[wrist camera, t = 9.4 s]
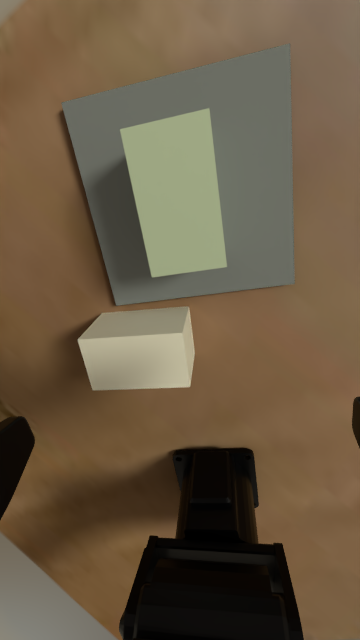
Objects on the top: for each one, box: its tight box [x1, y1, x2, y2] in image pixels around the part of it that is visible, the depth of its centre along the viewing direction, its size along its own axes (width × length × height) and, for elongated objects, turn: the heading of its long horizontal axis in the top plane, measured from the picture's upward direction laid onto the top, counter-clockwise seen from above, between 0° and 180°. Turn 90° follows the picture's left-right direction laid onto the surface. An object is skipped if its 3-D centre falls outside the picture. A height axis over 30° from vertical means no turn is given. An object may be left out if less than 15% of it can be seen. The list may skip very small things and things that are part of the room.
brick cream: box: [78, 306, 195, 390], centre depth 19 cm, size 6×4×4 cm, turn 97°
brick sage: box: [120, 108, 227, 277], centre depth 14 cm, size 6×4×4 cm, turn 10°
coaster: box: [61, 44, 295, 306], centre depth 16 cm, size 11×11×1 cm
